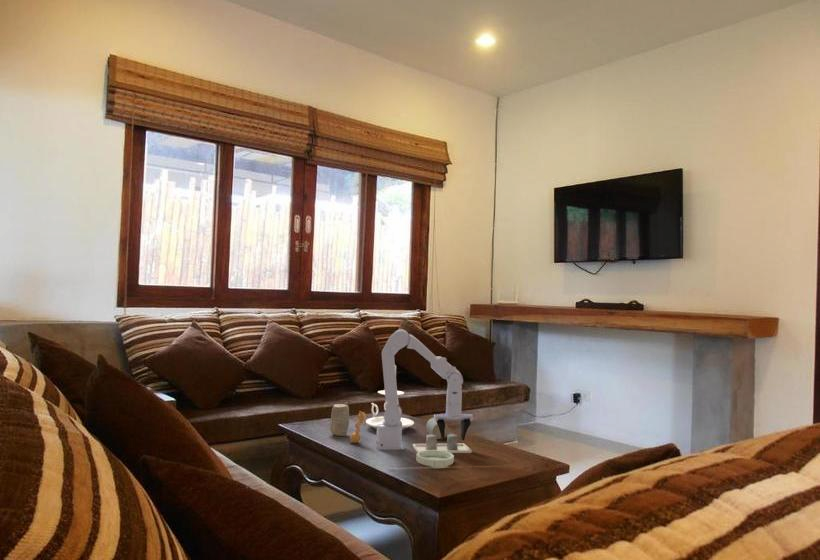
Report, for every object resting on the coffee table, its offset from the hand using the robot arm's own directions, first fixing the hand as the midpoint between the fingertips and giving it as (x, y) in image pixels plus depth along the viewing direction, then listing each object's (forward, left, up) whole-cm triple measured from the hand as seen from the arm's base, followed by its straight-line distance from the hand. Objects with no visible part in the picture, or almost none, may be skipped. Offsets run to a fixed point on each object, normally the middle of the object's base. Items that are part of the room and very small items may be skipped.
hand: (452, 439), depth 213 cm
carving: (-40, +25, -4) cm, 47 cm away
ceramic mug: (0, +19, -4) cm, 20 cm away
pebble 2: (0, 0, -4) cm, 4 cm away
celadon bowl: (-10, -14, -4) cm, 18 cm away
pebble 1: (-8, 0, -4) cm, 9 cm away
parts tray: (-4, 0, -4) cm, 6 cm away
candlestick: (-19, +36, -4) cm, 41 cm away
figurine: (-34, +13, -4) cm, 37 cm away
